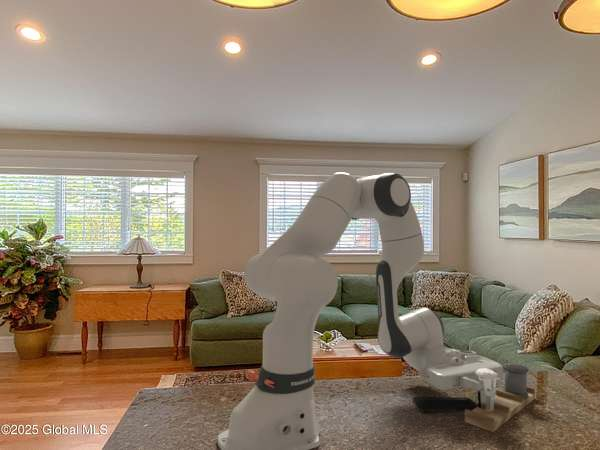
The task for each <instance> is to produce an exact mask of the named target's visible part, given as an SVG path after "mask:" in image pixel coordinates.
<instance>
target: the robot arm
mask: <svg viewBox="0 0 600 450" xmlns="http://www.w3.org/2000/svg"><path fill="white" fill-rule="evenodd" d="M411 198H412V193H411V188H410V185H409V183H408V181H407V180H406V178H404V176H403V175H401V174H400V173H394V172H385V173H382V174H376V175H375V174H373V175H369V176H362V177H359V178H356V177H354V176H353V175H352V174H350V173H347V172H344V171H343V172H342V171H340V172H339V171H338V172H333V173H332V174H331V175H329V176H328V177H327V178H326V179H325V180H324V181H323V182H322V183H321V184H320V185H319V186H318V188H317V189H316V191H315V192H314V193H313V195H312V196H311V197H310V199H309V200H308V202H307V203H306V204H305V206H304V208H303V209H302V211H301V212H300V214H299V215H298V216H297V218H295V219H296V220H295V221H294V222H293V223H292V225H290V226H289V227H288V229H287V230H285V232H284V233H283V234H282V235H280V236H279V237H278V238H276V240H274V241H273V243H271V244H270V245H269V246H268V247H266V249H264V250H263V251H261V252H259V253H257V254H256V255H253V256H252V257H250V258H249V260H248V261H247V262H246V264H245V267H244V271H243V279H244V283H245V284H246V287H247V288H248V289H249V290H250V291H251V292H253V293H254V294H256V295H257V296H259V297H260V298H263V299H265V300H271V301H274V302H276V310H275V314H274V317H273V320H272V321H271V322H270V323H268V324H267V325H266V326H265V328H264V329H263V332H262V364H261V366H260V369H259V372H257V371H255V370H252V369H250V370H248V371H247V373H246V379H248V380H249V381H252V382H255V385H254V386H253V388H252V389H251V390H250V391H249V392H247V393H248V394H246V395H245V397H243V398H242V400H241V401H240V402H239V403H238V404H237V405H236V406H235V407H234V408H233V410H232V411H231V414H230V418H229V422H228V423H229V424H228V429H226V430H225V431H223V432H221V433H219V434H218V436H217V445H218V447H219V449H220V450H311V449H315V448H317V447H319V446H320V444H321V443H320V442H321V441H320V437H319V435H320V433H321V427H320V424H319V420H318V416H317V411H316V403H315V402H316V401H315V393H314V385H315V383H316V382H315V381H316V374H315V373H316V372H315V365H314V364H313V358H314V357H313V355H314V336H315V335H314V333H315V327H316V324H317V321H318V318H319V316H320V314H321V312H322V310H323V309H324V308H325V307H326V306H327V305H328V304H330V303H331V302H332V301H333V299H334V298H335V295H336V294H337V290H338V286H339V278H338V273H337V270H336V268H335V267H334V266H333V264H331V262H329V261H327V260H324V259H323V256H326V255H327V254H329V253H331V252H332V251H333V250H334V249H335V248H336V247H337V245H338V243H339V242H340V240H341V238H342V236H343V234H344V232H345V231H346V229H347V227H348V226H349V224H350V222H351V220H352V221H357V220H367V219H368V220H369V219H371V220H372V219H375V221H376V222H377V224H378V231H379V236H380V241H381V255H380V256H381V257H380V260H379V262H378V263H377V265H376V268H375V284H376V285H375V286H376V303H377V315H378V317H377V318H378V321H377V322H378V323H377V324H378V325H377V341H378V345H379V347H380V349H381V350H382V351H383V353H385V354H386V355H388V356H390V357H393V358H395V359H402V358H403V360H404V361H405V362H406V363H407V364H408V365H409V366H411V367H412V368H414V369H415V370H417V371H418V374H419V376H421V377H423V378H425V381H426V382H427V383H428V384H429V385H431V386H432V387H434V389H435V388H436V389H437V390H439V391H449V390H456V389H460V388H461V389H462V388H466V389H473V390H474V391H476V392H477V391H480V390H483V389H484V387H483V386H484V384H483V383H482V382H480V381H478V380H476V371H477V370H478V369H480V368H487V369H490V370H492V371H494V372H495V373H497V371H498V369H499V367H500V369H499V371H498V373H497V381H496V388H499V387H502V380H504V368H503V364H501V363H499V362H497V361H495V360H492V359H490V358H488V357H486V356H483V355H477V352H476V351H475V350H469V349H468V350H465V349H463V350H461V349H454V348H449V347H446V346H444V344H445V325H444V322H443V319H442V318H441V317H440V315H438V313H436V311H434V309H433V310H432V309H431V308H429V307H427V306H422V307H419V308H417V309H414V310H412V311H410V312H408V313H405V314H403V315H400V316H399V305H398V304H399V303H398V288H399V286H400V284H401V282H402V280H403V279H404V278H405V277H406V276H407V274H409V273H410V272H411V271H412V270H414V268H415V267H416V266H418V265H419V263H420V262H421V260H422V258H423V257H424V254H425V242H424V236H423V233H422V228H421V224H420V222H419V218H418V215H417V212H416V210H415V207H414V205H413V203H412V201H411V200H412V199H411ZM321 257H322V258H321Z"/></svg>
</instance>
